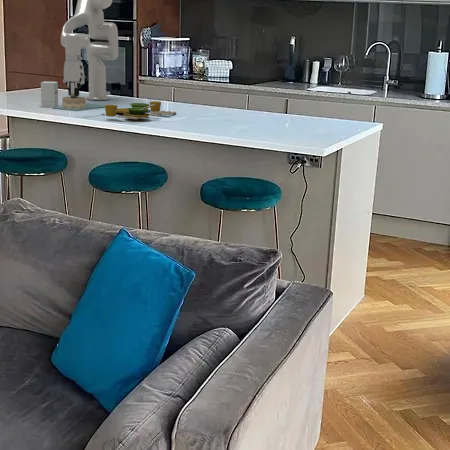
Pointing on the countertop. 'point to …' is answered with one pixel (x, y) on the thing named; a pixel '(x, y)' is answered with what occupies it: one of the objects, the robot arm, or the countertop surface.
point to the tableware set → (136, 110)
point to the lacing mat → (88, 106)
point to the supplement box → (49, 94)
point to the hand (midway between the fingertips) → (73, 95)
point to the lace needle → (72, 89)
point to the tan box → (74, 102)
